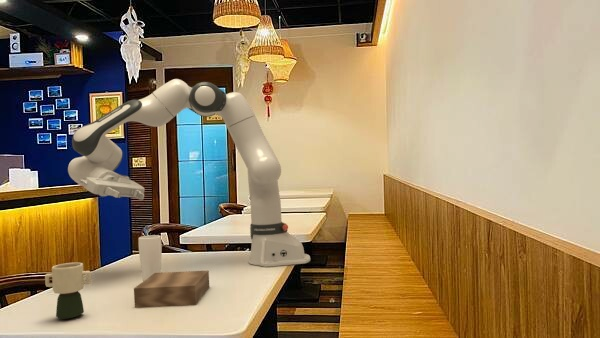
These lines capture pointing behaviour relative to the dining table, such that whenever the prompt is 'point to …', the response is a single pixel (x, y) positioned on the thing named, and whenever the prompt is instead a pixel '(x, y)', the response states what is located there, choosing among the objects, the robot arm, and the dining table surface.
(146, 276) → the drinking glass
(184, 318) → the dining table surface
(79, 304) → the character mug
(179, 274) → the walnut riser dock
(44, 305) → the dining table surface
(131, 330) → the dining table surface
